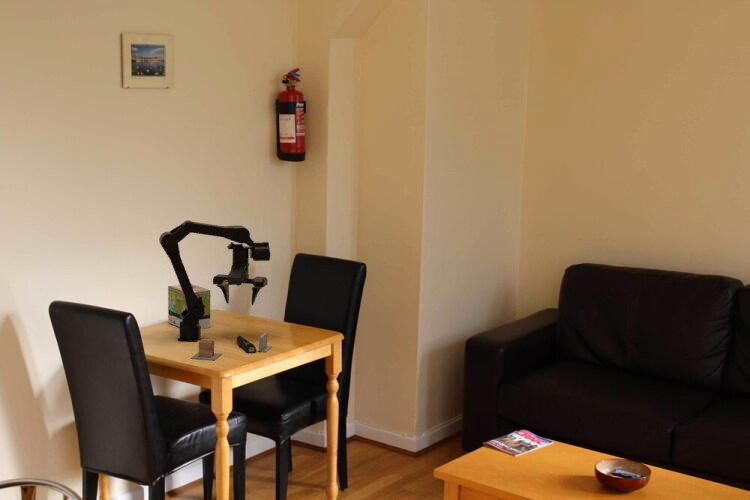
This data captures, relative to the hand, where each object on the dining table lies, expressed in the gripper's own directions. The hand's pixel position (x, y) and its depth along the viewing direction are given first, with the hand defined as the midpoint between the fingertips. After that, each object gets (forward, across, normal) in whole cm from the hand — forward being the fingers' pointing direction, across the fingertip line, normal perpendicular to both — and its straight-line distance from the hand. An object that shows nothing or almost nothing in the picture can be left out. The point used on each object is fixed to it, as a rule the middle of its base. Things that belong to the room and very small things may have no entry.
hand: (240, 304), depth 333 cm
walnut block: (+12, -3, -29) cm, 31 cm away
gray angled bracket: (+12, +13, -14) cm, 23 cm away
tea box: (+12, -23, +12) cm, 29 cm away
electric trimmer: (+13, +6, -14) cm, 20 cm away
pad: (+12, -3, -29) cm, 31 cm away
